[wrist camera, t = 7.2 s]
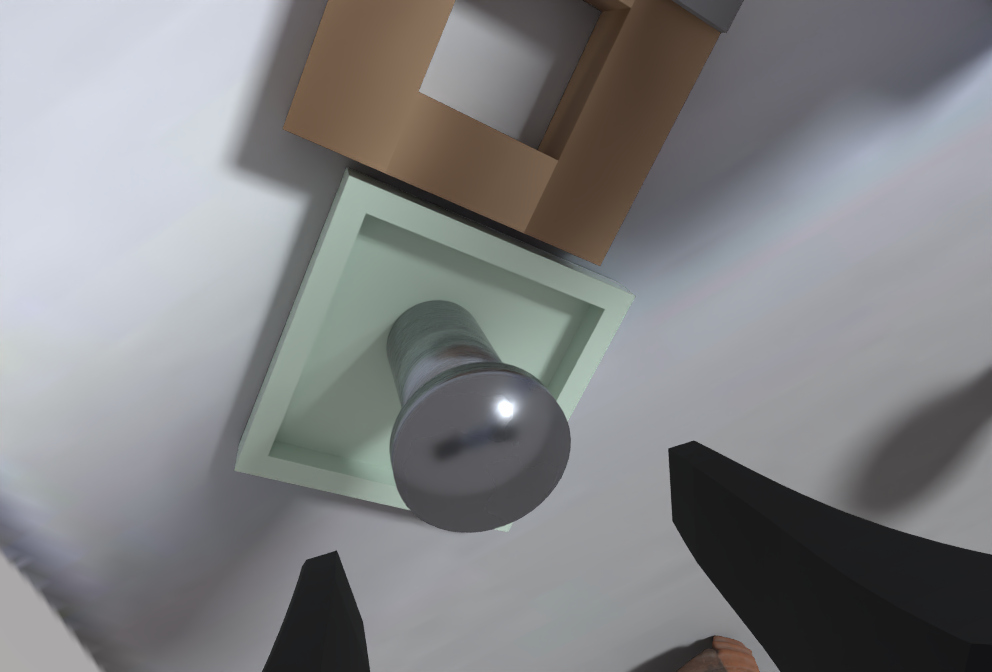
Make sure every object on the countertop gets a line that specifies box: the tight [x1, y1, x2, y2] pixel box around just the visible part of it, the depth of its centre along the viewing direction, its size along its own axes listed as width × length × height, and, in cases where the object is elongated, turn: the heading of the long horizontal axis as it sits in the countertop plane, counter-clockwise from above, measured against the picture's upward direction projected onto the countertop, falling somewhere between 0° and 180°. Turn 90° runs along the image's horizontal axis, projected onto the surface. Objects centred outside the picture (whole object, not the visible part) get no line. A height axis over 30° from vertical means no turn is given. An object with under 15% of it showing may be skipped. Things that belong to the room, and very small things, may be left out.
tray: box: [234, 167, 635, 532], centre depth 22 cm, size 10×10×2 cm
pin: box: [386, 300, 571, 533], centre depth 19 cm, size 4×4×7 cm
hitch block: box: [283, 0, 744, 266], centre depth 18 cm, size 10×9×2 cm
